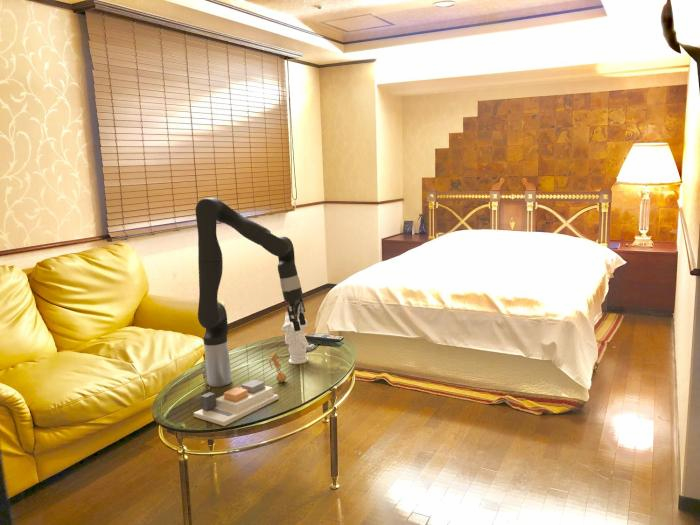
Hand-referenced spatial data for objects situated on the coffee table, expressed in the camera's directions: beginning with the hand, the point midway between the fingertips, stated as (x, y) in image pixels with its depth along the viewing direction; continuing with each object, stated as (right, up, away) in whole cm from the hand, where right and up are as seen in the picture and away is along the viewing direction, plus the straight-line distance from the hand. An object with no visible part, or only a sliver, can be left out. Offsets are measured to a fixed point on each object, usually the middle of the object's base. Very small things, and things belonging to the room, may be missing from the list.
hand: (300, 327), depth 224 cm
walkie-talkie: (-2, -16, +47) cm, 50 cm away
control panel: (-21, -27, -17) cm, 38 cm away
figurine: (-9, -23, +6) cm, 25 cm away
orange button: (-22, -24, -18) cm, 37 cm away
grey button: (-16, -23, -11) cm, 30 cm away
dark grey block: (-31, -26, -20) cm, 45 cm away
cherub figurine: (-5, -19, +29) cm, 35 cm away
